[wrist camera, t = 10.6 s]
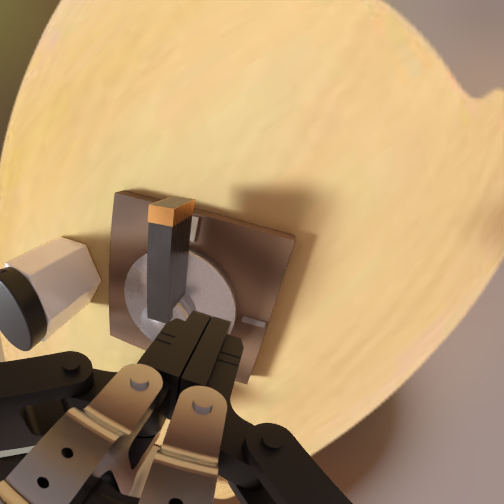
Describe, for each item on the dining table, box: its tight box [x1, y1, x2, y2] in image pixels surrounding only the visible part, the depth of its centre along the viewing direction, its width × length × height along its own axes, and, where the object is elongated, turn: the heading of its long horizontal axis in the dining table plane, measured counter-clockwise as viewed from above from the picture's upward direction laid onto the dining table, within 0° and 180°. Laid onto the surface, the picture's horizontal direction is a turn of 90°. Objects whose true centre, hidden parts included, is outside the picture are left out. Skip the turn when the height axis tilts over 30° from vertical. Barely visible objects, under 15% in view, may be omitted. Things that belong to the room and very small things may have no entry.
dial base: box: [109, 191, 295, 384], centre depth 28 cm, size 17×17×2 cm
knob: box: [124, 196, 238, 341], centre depth 23 cm, size 16×11×6 cm
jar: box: [0, 237, 101, 351], centre depth 24 cm, size 9×8×12 cm
